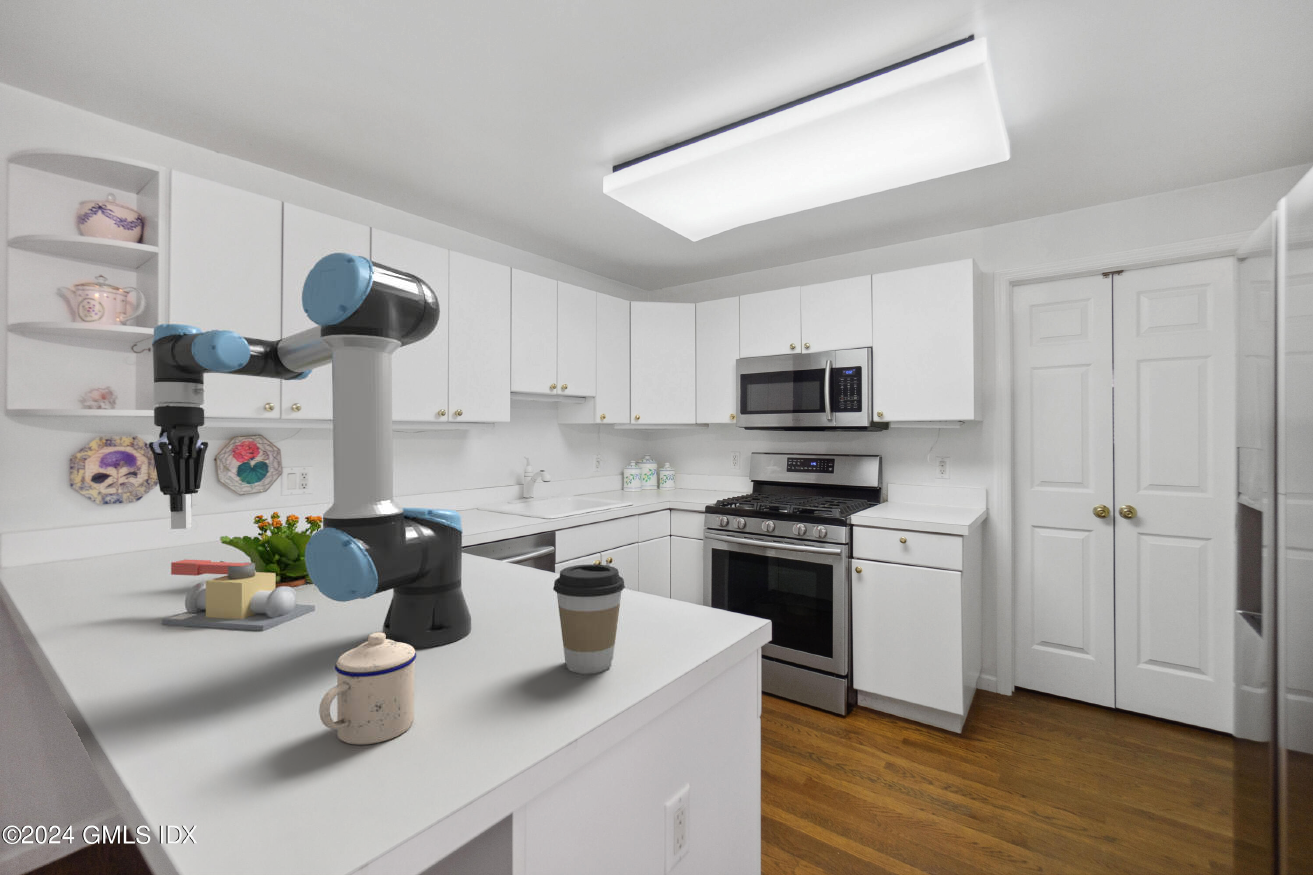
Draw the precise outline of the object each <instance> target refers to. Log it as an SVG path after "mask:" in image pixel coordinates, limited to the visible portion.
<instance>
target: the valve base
mask: <svg viewBox="0 0 1313 875" xmlns="http://www.w3.org/2000/svg"><path fill="white" fill-rule="evenodd" d="M275 574H276V573H262V572H256V571H255V576H254V577H251V578H247V579H239V580H230V579H228V575H227V574H226V575H224V576H220V577H216V578H213V579H208V580H205V582H199V583H196V584H195V585H194V586H192V587H191V588H190V589H189V591H188V592H187V594H186V596H185V600H184V606H185V607H184V608H185V610H186V611H184V612H182V613H181V612H180V613H178V614H175V615H172V616H169V617H165V618H162V620H161V622H162V626H163V625H165V626H166V625H167V626H182V627H195V628H196V627H197V628H210V629H211V628H214V629H227V630H228V629H231V630H243V631H245V630H246V631H256V632H257V631H261V632H263V631H266V630H269V629H272V628H273V627H274V628H275V627H276V626H279V625H281V624H283V623H286V622H288V621H289V622H290V621H291V620H294V619H297V618H299V617H301V616H304V615H306V614H309V613H311V612H313V611H315V610H316V605H313V604H297V600H298V598H297V593H296V591H295V589H294V587H286V586H280V587H277V588H275Z"/></svg>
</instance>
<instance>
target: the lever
mask: <svg viewBox="0 0 1313 875" xmlns="http://www.w3.org/2000/svg"><path fill="white" fill-rule="evenodd" d="M170 563H171V564H170V567H171V568H170V575H173V576H174V575H175V576H193V577H194V576H196V577H197V576H202V575H205V574H208V575H209V574H211V575H226V576H227V575H228V579H230V580H239V579H247V578H251V577H254V576H255V572H256V571H255V563H251V562H227V561H223V562H220V561H212V560H210V559H209V560H208V559H183V560H177V561H171V562H170Z"/></svg>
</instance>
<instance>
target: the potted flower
mask: <svg viewBox="0 0 1313 875" xmlns="http://www.w3.org/2000/svg"><path fill="white" fill-rule="evenodd" d="M279 513H280V512H278V511H273V512H272V514H270V521H268V519H269V518H268V517H267V518H264V515H263V514H261V515H255V517H253V520H254V521H253V524H254V525H257V526H256V528H258V530H259V531H260V532H258V533H257V535H258V536H260V537H258V536H254V537H253V538H252V536H248V535H243V536H242V537H241V536H234V537H232V538H230V537H229V536H227V535H223V536H222V535H221V536H220V537H219V539H220V540H219V541H220V544H223V545H225V546H230V547H233V548H235V549H237V550H239V551H241V552H243V553H244V554H245V555H246V556H247V557H248V558H249V560H250V563H255V572H262V573H276V574H275V588H277V587H280V586H286V587H291V588H295V587H298V586H299V587H301V586H302V585H305V584H306V583H311V584H313V582H312V580H311V579H310V576H309V574H308V571H307V568H306V563H305V550H306V546H307V543H308V542H310V538H311V536H312V535H313V534H314V532H315V533H316V532H318V531H319V530H320V529H322V524H323V517H322V516H321V515H315V516H314V515H309V516H305V517H304V520H305V523H306V524H307V525H309V527H308V528H305V530H301V532H300V531H298V530H296V529H298V523H299V520H300V517H299V515H296V514H289V515H286V519H285V523H283V522H282V520H281V519H280V518H281V515H279ZM268 531H269V533H270V534H271V535H269V534H267V533H268ZM308 532H309V533H308ZM219 562H224V561H222V560H219Z"/></svg>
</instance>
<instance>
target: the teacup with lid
mask: <svg viewBox="0 0 1313 875" xmlns="http://www.w3.org/2000/svg"><path fill="white" fill-rule="evenodd" d="M416 658H417V653H416V650H415V648H413V647H412V646H410V645H408V644H406V643H400V642H395V641H393V640H389V639H386V635H385V634H384V633H382V632H373V633H371V634H369V635H368V637H367V641H365V642H363V643H361V644H360V645H359V646H357V647H354V648H352V649H350V650H347V651H346V652H344V653H343V654H342V655H340V656H339V657H338V659H337V661H336V663H335V665H334V670H335V671H336V674H337V675H336V681H337V685H334V686H333V687H331V688H330V689H329V690H327V692H326V693H325V694H324V696H323V697H322V699H321V700H320V702H319V703H320V704H319V707H318V714H319V719H320V720H321V723H322V724H323V725H324V727H326V728H327V729H331V730H337V731H336V732H337V737H338V739H340V741H342V742H344V743H346V744H350V745H356V746H364V745H365V746H366V745H372V744H379V743H382V742H386V741H389V740H392V739H394V738H397V737H399V736H401V735H402V734H404V733H405V732H406V731H408V730H409V729H410V728H411V726H412V725H413V723H414V721H415V660H416ZM336 697H337V700H336V701H337V704H336V706H337V707H336V708H337V709H336V711H337V713H336V714H337V716H336V720H337V721H334V719H332V716H331V705H332V702H333V700H334V699H335V698H336Z"/></svg>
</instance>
